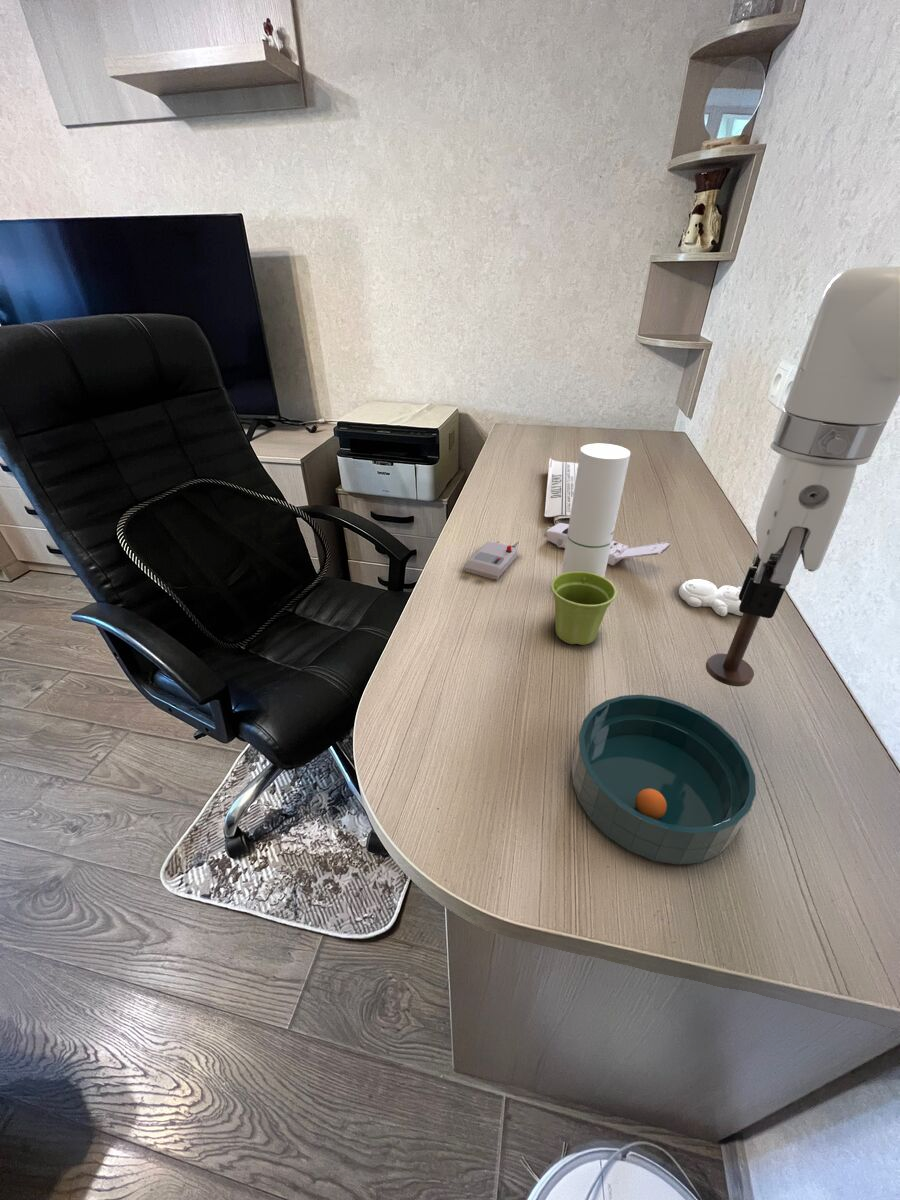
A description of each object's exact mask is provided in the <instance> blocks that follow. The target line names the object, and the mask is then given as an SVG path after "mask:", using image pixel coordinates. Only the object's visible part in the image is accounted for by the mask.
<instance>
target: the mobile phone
mask: <svg viewBox="0 0 900 1200" xmlns="http://www.w3.org/2000/svg"><path fill="white" fill-rule="evenodd" d="M568 527H569V524H565V523H558V524H554V525H553V526H552V527H551V526H546V531H545V539H546V540H547V541H549V542H550V543H552V544H554V545H556V546H557V548H563V549H565V547H566V540H567V534H568ZM670 546H671V543H670V541H661V542H656V543H650V544H643V545H636V546H630V547H629V546H628V545H627V544H623V543H621V542H617V541H615V540H612V543H611V548H610V553H609V557H608V562H607V565H610V566H615V565H616V564H617V563H618V562H619V561H621V560H623V559H631V558H640V557H646V556H647V557H649V556H656V555H662V554H663V553H664V552H665V551H667V549H668V548H669V547H670Z"/></svg>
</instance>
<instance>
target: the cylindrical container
mask: <svg viewBox="0 0 900 1200" xmlns="http://www.w3.org/2000/svg"><path fill="white" fill-rule="evenodd" d="M630 458H631V451H630V450H629V449H628V448H626V447H623V446H620V445H617V444H611V443H602V442H601V443H600V442H599V443H598V442H597V443H589V444H584V445H582V446H581V447H580V451H579V457H578V462H577V463H578V469H577V476H576V482H575V488H574V495H573V501H572V508H571V514H570V521H569V527H568V534H567V540H566V547H565V548H564V554H563V560H562V567H561V572H560V574H562V573H566V572H572V571H583V572H590V573H594V574H596V575H600V576H602V577H604V578H605V577H606V576H605V575H606V572H607V566H608V564H607V562H608V557H609V553H610V548H611V543H612V541H613V538H614V533H615V528H616V524H617V519H618V515H619V509H620V505H621V500H622V497H623V491H624V486H625V481H626V476H627V473H628V467H629V462H630Z"/></svg>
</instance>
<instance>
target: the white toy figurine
mask: <svg viewBox="0 0 900 1200" xmlns="http://www.w3.org/2000/svg"><path fill="white" fill-rule="evenodd" d="M741 588H742V586H738V587H736V586H732V585H729V584H727V585H722V586H720V587H719V588H718V587H717V585H716V584H715V583H713V582H711V581H709V580H707V579H701V578H694V579H688V580H686V581H684V582H683V583H682V584H681V585H680V586H679V590H678V595H679V597H680V598H681V599H682V600H683V601H684V602H685V603H687V605H688V606H690V607H692V608H700V607H710V608H712V610H713V611H714V612H715V614H717V615H718V616H721V617H725V616H727V615H728V613H729V614H733V615H736V616H740V617H742V615H743V613H742V612H740V611H739V606H740V603H741V601H740V600H739V594H740V591H741Z"/></svg>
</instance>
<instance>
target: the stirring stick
mask: <svg viewBox="0 0 900 1200" xmlns="http://www.w3.org/2000/svg"><path fill="white" fill-rule="evenodd" d="M775 566H776V565H772V564H768V566H767V568H768V567H774V568H775ZM767 568H766V569H767ZM759 620H760V616H755V615H751V614H746V613H743V615H742V616H741V618H740V620H739V622H738V625H737V628H736V631H735V633H734V635H733V638H732V641H731V644H730V646H729V648H728V651H727V652H726V653H713V654H711V655H710V656H709V657H708V658H707V660H706V661H705V662H706V663H705V670H706V672H707V674H708V675H709V676H710V677H711V678H712V679H714V680H715V681H717V682H719V683H721V684H724V685H726V686H730V687H746V686H747V685H749V684H751V682H752V681H753V679H754V676H755V671H754V669H753V667H752V666H751V665H750V664H749V662H747V661H746V660H744V659H743V658H744V656H745V654H746V651H747V649H748V647H749V644H750V642H751V640H752V638H753V637H752V636H753V635H754V632H755V630H756V627H757V625H758V622H759Z"/></svg>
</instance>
